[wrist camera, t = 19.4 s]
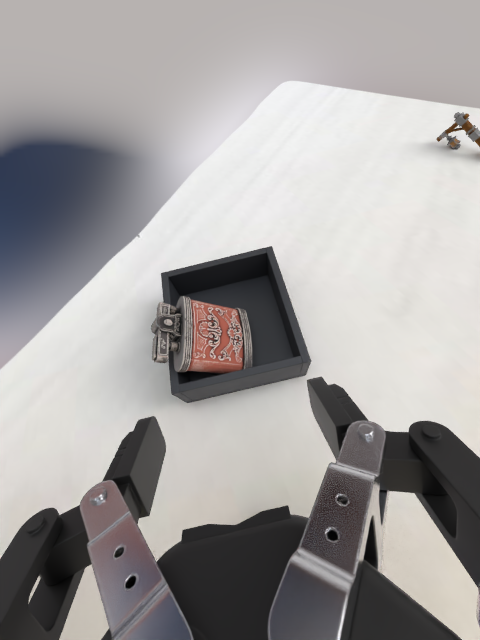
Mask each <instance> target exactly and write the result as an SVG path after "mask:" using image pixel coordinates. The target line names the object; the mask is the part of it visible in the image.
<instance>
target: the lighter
mask: <svg viewBox="0 0 480 640" xmlns="http://www.w3.org/2000/svg"><path fill="white" fill-rule="evenodd" d="M151 330H152V332H153V333H154V334H155V335H156V336H155V337H154V339H153V350H152V360H154V362H158V363H166V362H167V360H168V350H169V351H174V369H175V371H176V372H186V371H197V372H210V373H222V374H225V373H229V372H234V371H238V370H242V369H246V368H250V367H252V343H251V333H250V327H249V322H248V318H247V314H246V311H245V310H244V309H239V308H235V309H232V308H227V307H223V306H218V305H213V304H209V303H204V302H200V301H195V300H190V298H189V297H185V296H181V297H180V298H179V300H178V302H177V306H176V307H174V306H171V305H170V304H166V303H161V302H160V303H159V304H158V307H157V317H156V319H155V321H154V322H153V324H152V326H151ZM169 340H170V341H172V342H170V343H169Z"/></svg>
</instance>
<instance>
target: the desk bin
mask: <svg viewBox="0 0 480 640" xmlns="http://www.w3.org/2000/svg"><path fill="white" fill-rule="evenodd" d="M161 277H162V289H163V300H164V303H166V304H170V305H171V306H174V307H176V306H177V302H178V300H179V298H180V297H181V296H185V297H189V298H190V300H195V301H200V302H204V303H209V304H213V305H218V306H223V307H227V308H232V309H235V308H239V309H244V310H245V311H246V314H247V318H248V322H249V327H250V333H251V343H252V367H250V368H246V369H242V370H238V371H234V372H229V373H225V374H222V373H210V372H197V371H186V372H176V371H175V369H174V351H169V350H168V358H169V370H170V381H171V393H172V395H174V396H176V397H178V398H179V399H181V400H183V401H185V402H187V403H189V402H193V401H198V400H202V399H206V398H210V397H215V396H219V395H223V394H227V393H232V392H236V391H240V390H244V389H249V388H253V387H257V386H261V385H266V384H270V383H274V382H278V381H282V380H287V379H291V378H295V377H299V376H304V375H306V373H307V370H308V368H309V365H310V363H311V359H310V356H309V354H308V351H307V348H306V345H305V342H304V339H303V336H302V333H301V330H300V327H299V324H298V321H297V318H296V316H295V313H294V310H293V307H292V304H291V301H290V298H289V295H288V292H287V289H286V286H285V283H284V280H283V278H282V275H281V272H280V269H279V266H278V263H277V260H276V257H275V254H274V251H273V248H272V246H270V247H266V248H262V249H258V250H254V251H250V252H246V253H242V254H238V255H234V256H230V257H226V258H221V259H217V260H213V261H209V262H205V263H201V264H197V265H193V266H189V267H185V268H181V269H176V270H172V271H168V272H164V273H161ZM170 342H172V341H170V340H169V343H170Z"/></svg>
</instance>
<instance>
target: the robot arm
mask: <svg viewBox="0 0 480 640" xmlns="http://www.w3.org/2000/svg"><path fill="white" fill-rule="evenodd" d="M307 386H308V391H309V397H310V403H311V408H312V411H313V414H314V417H315V419H316V421H317V423H318V425H319V427H320V429H321V431H322V433H323V435H324V437H325V438H326V440H327V442H328V444H329V446H330V448H331V450H332V452H333V454H334V456H335V458H336V460H337V461H336V463H332V462H331V463H330V464H329V466H328V468H327V471H326V473H325V476H324V479H323V481H322V484H321V487H320V490H319V492H318V495H317V498H316V501H315V503H314V506H313V509H312V511H311V514H310V517H309V518H306V517H303V516H298V515H290V511H289V507H288V506H283V507H279V508H275V509H271V510H266V511H262V512H260V513H258V514H256V515H255V516H253V517H251V518H249V519H247V520H245V521H243V522H241V523H239V524H237V525H217V524H207V525H203V526H198V527H194V528H190V529H185V530H183V532H182V540H181V542H179V543H177V544H176V545H174V546H173V547H172V548H170V549H169V550H168V551H167V552H166V553H165V554H164V555H163V556H162V557H161V558H160V559H159V560H158V561H157V562H156V561H155V559H154V557H153V555H152V553H151V551H150V549H149V547H148V545H147V543H146V541H145V539H144V537H143V535H142V533H141V531H140V529H139V527H138V525H137V523H138V520H139V518H142V517H146V516H149V515H150V511H151V507H152V503H153V499H154V495H155V491H156V487H157V484H158V480H159V476H160V472H161V468H162V464H163V460H164V456H165V452H166V444H165V440H164V437H163V434H162V432H161V429H160V427H159V424H158V422H157V419H156V418H155V417H154V416H152V417H148V418H144V419H140V420H138V422H137V424H136V426H135V429H134V431H133V432H129V434H128V435H127V436H126V437H125V438H124V439H123V440H122V442H121V444H120V446H119V448H118V451H117V452H116V454H115V458H114V459H113V461H112V463H111V465H110V467H109V469H108V471H107V473H106V475H105V477H104V479H103V481H102V482H101V483H99V484H97V485H95V486H94V487H93V488H91V489H90V490H89V491H88V492H87V493H86V494H85V496H84V497H83V499H82V500H81V503H80V505H79V506H77V507H75V508H73V509H71V510H69V511H67V512H65V513H63V514H61V515H59V513H58V511H57V510H56V509H55V508H47V509H44V510H42V511H40V512H38V513H37V514H35V515H34V516H32V517H31V518H30V519H29V520H28V521H26V522H25V524H24V525H23V526H22V527H21V528H20V529H19V531H18V532H17V534H16V535H15V537H14V539H13V540H12V542H11V543H10V545H9V546H8V548H7V550H6V551H5V553H4V554H3V556H2V557H1V559H0V640H59V638H60V635H61V632H62V630H63V627H64V624H65V621H66V619H67V616H68V613H69V610H70V608H71V605H72V602H73V599H74V597H75V594H76V591H77V589H78V586H79V583H80V580H81V578H82V575H83V572H84V569H85V567H87V566H89V565H91V564H92V567H93V570H94V574H95V577H96V581H97V585H98V588H99V592H100V595H101V599H102V603H103V606H104V610H105V613H106V617H107V620H108V624H109V630H108V631H107V632H106V634H105V635H104V637H103V638H102V640H462V639H461V638H460V637H458V636H457V635H456V634H455V633H454V632H453V631H452V630H450V629H449V628H448V627H447V626H445V625H444V624H443V623H442V622H440V621H439V620H438V619H437V618H436V617H434V616H433V615H432V614H431V613H429V612H428V611H427V610H426V609H425V608H423V607H422V606H421V605H420V604H418V603H417V602H416V601H415V600H413V599H412V598H411V597H410V596H409V595H407V594H406V593H405V592H404V591H402V590H401V589H400V588H399V587H398V586H396V585H395V584H394V583H393V582H391V581H390V580H389V579H388V578H386V577H385V576H384V575H383V574H382V573H381V567H382V557H383V535H384V527H385V519H386V512H387V505H388V498H389V491H397V492H409V493H415V494H416V496H417V497H418V499H419V500H420V502H421V503H422V505H423V506H424V508H425V509H426V511H427V512H428V514H429V515H430V517H431V518H432V520H433V521H434V523H435V524H436V526H437V527H438V529H439V530H440V532H441V533H442V535H443V536H444V538H445V539H446V541H447V542H448V544H449V545H450V547H451V548H452V550H453V551H454V553H455V554H456V556H457V557H458V559H459V560H460V562H461V563H462V565H463V566H464V568H465V569H466V571H467V572H468V573H469V575H470V576H471V578H472V579H473V581H474V582H475V584H476V585H477V587H478V601H477V620H478V624H479V627H480V458H479V457H478V456H477V455H476V454H475V453H474V452H473V451H472V450H471V449H469V448H468V447H467V446H466V445H465V444H464V443H463V442H462V441H461V440H460V439H459V438H458V437H457V436H456V435H455V434H454V433H453V432H451V431H450V430H449V429H448V428H446V427H445V426H443V425H441V424H438V423H435V422H431V421H419V422H415V423H413V424H412V425H411V426H410V428H409V432H389V431H384V429H383V428H382V427H381V426H379V425H378V424H376V423H374V422H371V421H368V419H367V418H366V417H365V416H364V414H363V413H362V412H361V411H360V409H359V408H358V407H357V405H356V404H355V403H354V402H353V401H352V399H351V398H350V397H349V396H348V394H347V393H346V392H345V390H344V389H343V388H341V387H339V386H338V385H336V384H332V385H327V383H326V382H325V381H324V379H323V378H322V377H318V378H313V379H309V380H307ZM38 576H40V577H41V580H40V582H39V584H38V586H37V588H36V590H35V592H34V594H33V596H32V598H31V600H30V602H29V605H28V601H29V596H30V593H31V590H32V588H33V586H34V584H35V582H36V580H37V578H38Z"/></svg>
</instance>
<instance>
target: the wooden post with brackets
mask: <svg viewBox="0 0 480 640" xmlns="http://www.w3.org/2000/svg"><path fill="white" fill-rule="evenodd" d="M468 117H469V114H464V113H461V114H460V113H459V112H457V113H456V114H455V115H454V118H456V119H455V120H454V121H455V122H456V123H454V124H453V125H452V126H451V127H450V128H449V129H447V130H445V131H444V132H443V133H442V134H441V135H440V136H439V137H438V138H437V140H438V141H440V140H441V139H442V138H444V137H447V140H448V141H449V142H448V144H449V145H450V146H451V147H452V148H456V149H458V148H459V147H460V144H459V143H460V141H459V140H457V139H456V136H455V137H453V138H452V137H451V136H448V134H449V133H451V132H453V131H458V130H465V131H466V135H469V136H468V137H469V138H471V140H472V141H473V142H474V141H475V142H476V143H477V144H478V145H479V147H480V131H479V130H478V128H475V127H476V126H475V125H474V126H473V125H472V124H471V123H470V122H469V121H468V119H469V118H468ZM458 125H459V127H460V126H462V128H457V129H454V128H455V127H457V126H458ZM448 144H447V145H448Z"/></svg>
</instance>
